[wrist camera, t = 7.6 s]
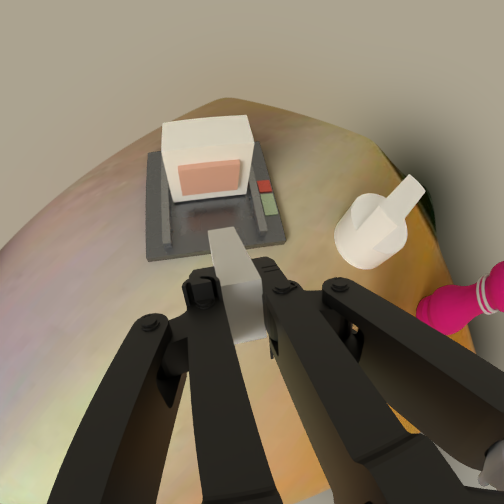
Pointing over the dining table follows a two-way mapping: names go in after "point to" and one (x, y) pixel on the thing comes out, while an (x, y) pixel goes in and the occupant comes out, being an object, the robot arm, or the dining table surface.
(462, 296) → the pepper mill
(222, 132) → the white block
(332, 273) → the dining table surface
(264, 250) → the dining table surface
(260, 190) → the track
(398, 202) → the base with upright slab
